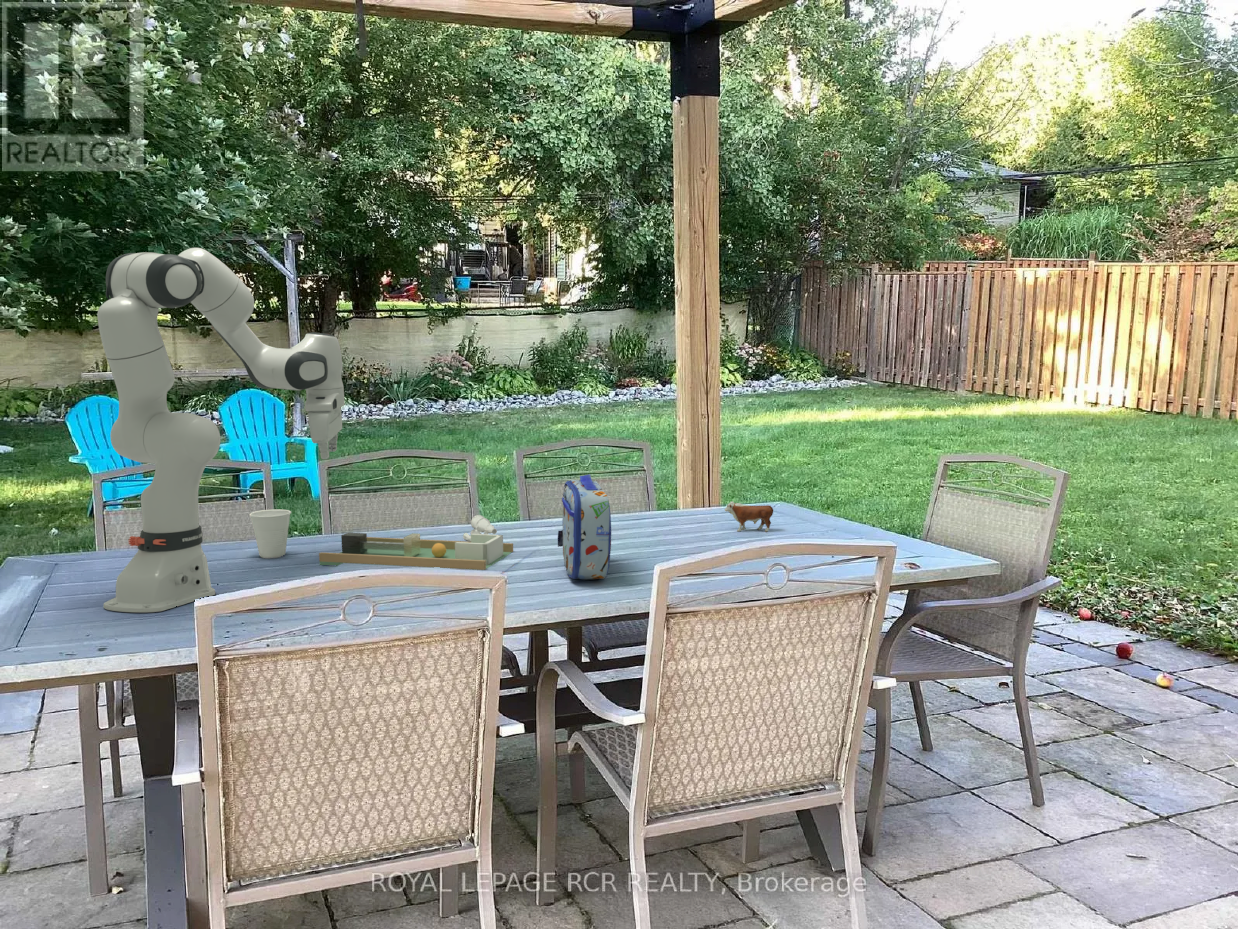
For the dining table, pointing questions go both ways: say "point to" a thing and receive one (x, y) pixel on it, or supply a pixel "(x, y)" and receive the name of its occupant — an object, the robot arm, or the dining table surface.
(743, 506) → the bull figurine
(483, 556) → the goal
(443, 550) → the ball
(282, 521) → the cup
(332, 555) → the pitch
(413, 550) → the kicker rod
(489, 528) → the cream rounded piece
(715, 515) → the dining table surface
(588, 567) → the lunch box
